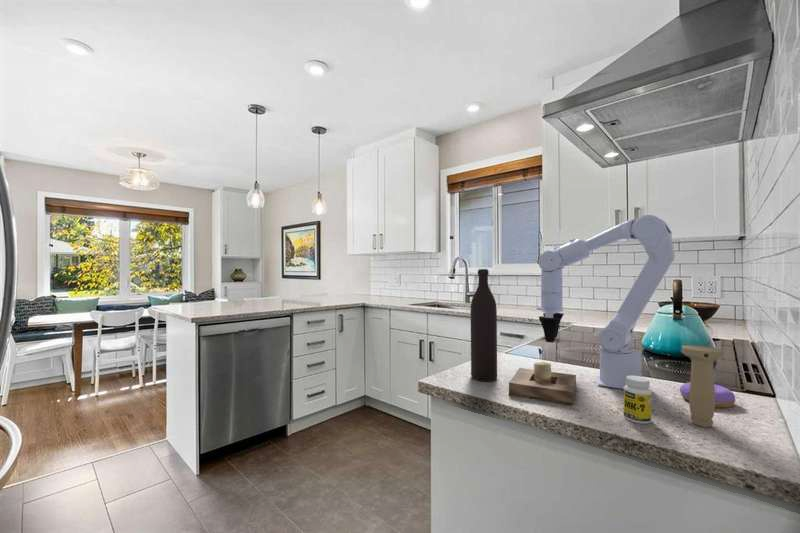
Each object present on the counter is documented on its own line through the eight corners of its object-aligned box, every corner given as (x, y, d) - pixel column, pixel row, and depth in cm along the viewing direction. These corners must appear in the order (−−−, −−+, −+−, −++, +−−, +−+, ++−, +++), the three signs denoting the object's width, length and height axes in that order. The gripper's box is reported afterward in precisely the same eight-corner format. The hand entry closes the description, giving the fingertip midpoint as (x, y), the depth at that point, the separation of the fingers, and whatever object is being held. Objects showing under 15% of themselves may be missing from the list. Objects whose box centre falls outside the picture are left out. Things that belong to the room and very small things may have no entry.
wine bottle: (501, 377, 103) (501, 268, 103) (489, 383, 98) (488, 269, 98) (479, 372, 108) (478, 268, 108) (466, 378, 103) (465, 269, 103)
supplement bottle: (620, 419, 76) (620, 378, 76) (627, 412, 79) (627, 373, 79) (648, 426, 73) (648, 383, 73) (653, 419, 76) (654, 378, 76)
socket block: (576, 386, 96) (576, 375, 96) (572, 405, 83) (572, 392, 83) (519, 378, 102) (519, 367, 102) (508, 395, 90) (508, 382, 90)
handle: (727, 432, 70) (727, 352, 70) (685, 426, 73) (685, 349, 73) (717, 422, 74) (718, 347, 74) (678, 417, 77) (679, 344, 77)
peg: (551, 386, 94) (551, 362, 94) (551, 391, 90) (550, 366, 91) (535, 385, 96) (534, 361, 96) (533, 389, 92) (533, 365, 92)
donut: (718, 394, 90) (721, 375, 89) (743, 417, 81) (747, 397, 80) (671, 391, 92) (673, 373, 91) (690, 413, 83) (693, 394, 82)
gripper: (540, 290, 117) (540, 333, 117) (533, 294, 104) (533, 342, 104) (565, 291, 114) (564, 336, 114) (560, 295, 101) (560, 345, 101)
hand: (551, 339), depth 109 cm, fingers open, 7 cm apart
